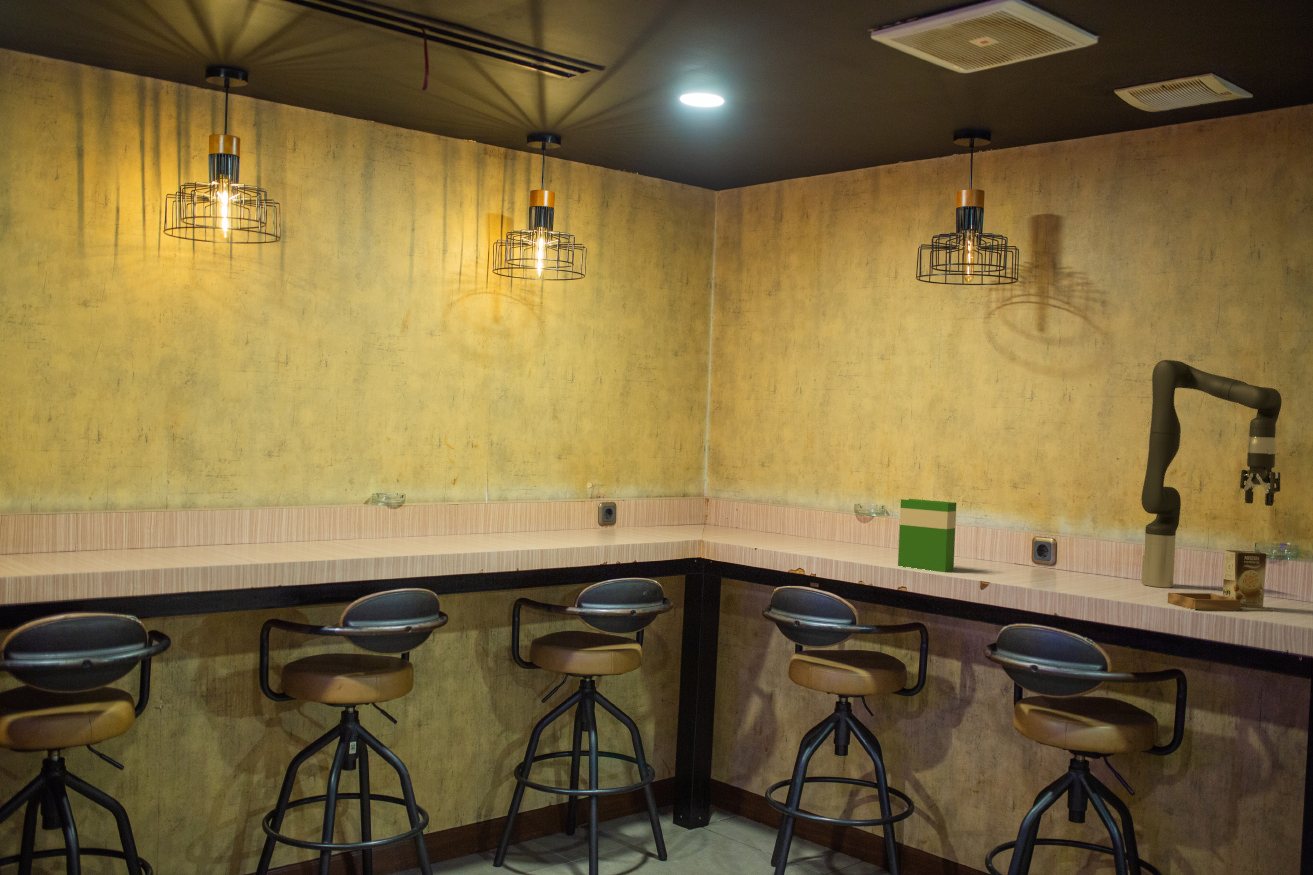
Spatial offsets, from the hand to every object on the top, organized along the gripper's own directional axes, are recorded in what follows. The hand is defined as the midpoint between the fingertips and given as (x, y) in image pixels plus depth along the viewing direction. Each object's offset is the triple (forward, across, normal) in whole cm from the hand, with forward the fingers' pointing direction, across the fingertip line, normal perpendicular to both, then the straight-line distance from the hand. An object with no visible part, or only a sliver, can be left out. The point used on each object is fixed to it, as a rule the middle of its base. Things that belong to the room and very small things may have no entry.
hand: (1258, 504), depth 330 cm
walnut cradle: (+30, +10, -25) cm, 40 cm away
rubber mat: (+30, +10, -12) cm, 34 cm away
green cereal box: (+30, -63, -80) cm, 106 cm away
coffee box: (+30, +10, -12) cm, 34 cm away
